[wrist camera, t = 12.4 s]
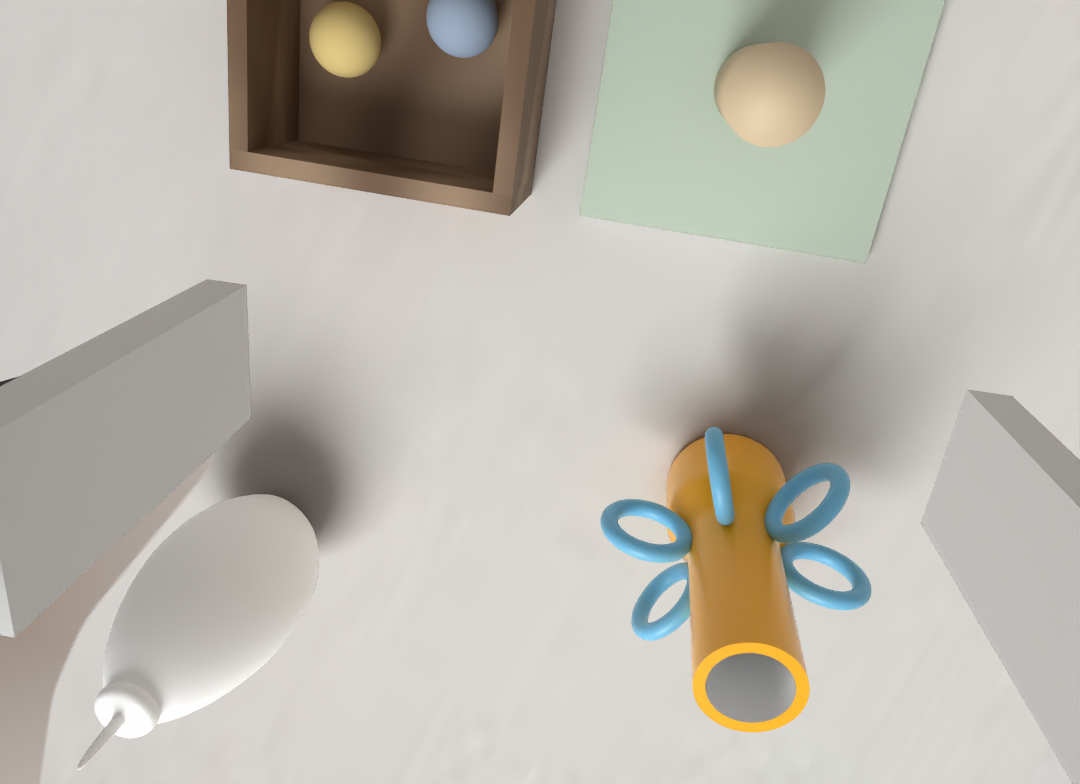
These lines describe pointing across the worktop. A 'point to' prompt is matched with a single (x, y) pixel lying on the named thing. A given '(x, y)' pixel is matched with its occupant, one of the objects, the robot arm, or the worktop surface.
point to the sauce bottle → (205, 613)
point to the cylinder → (739, 574)
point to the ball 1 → (345, 39)
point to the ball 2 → (462, 25)
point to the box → (390, 104)
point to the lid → (756, 117)
